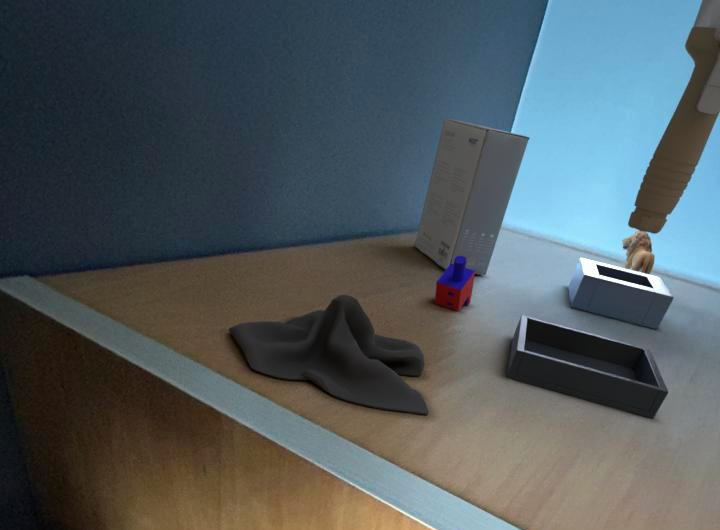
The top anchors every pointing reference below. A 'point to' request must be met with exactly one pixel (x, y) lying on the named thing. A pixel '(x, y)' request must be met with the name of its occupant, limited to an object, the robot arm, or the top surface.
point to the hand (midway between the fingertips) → (697, 113)
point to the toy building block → (455, 285)
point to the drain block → (619, 293)
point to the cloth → (337, 356)
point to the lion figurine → (639, 252)
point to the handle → (678, 141)
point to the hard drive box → (469, 193)
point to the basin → (586, 366)
